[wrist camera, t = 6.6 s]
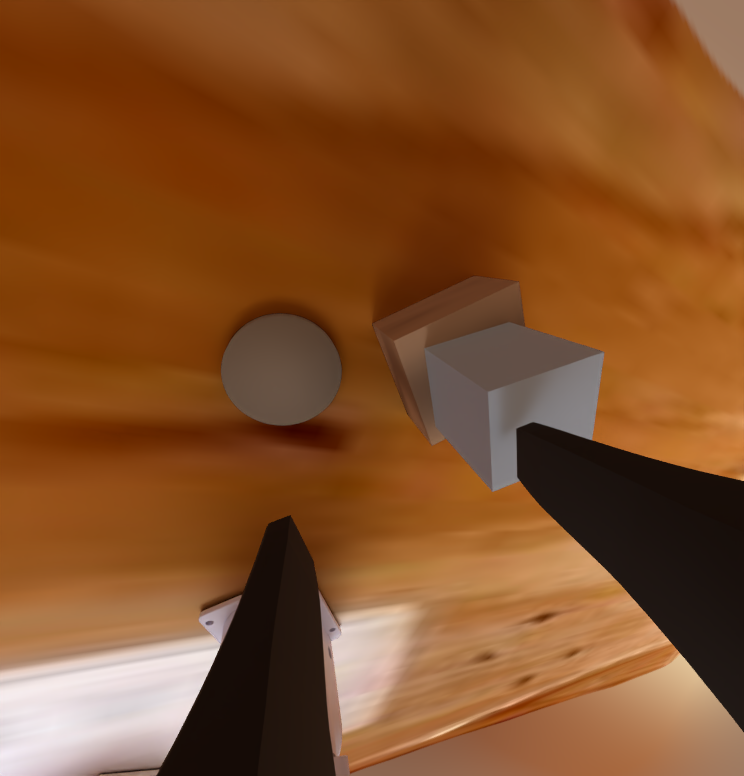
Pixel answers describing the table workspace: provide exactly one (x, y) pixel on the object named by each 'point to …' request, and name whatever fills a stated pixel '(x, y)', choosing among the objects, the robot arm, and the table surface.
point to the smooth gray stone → (281, 369)
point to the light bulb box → (134, 773)
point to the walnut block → (441, 336)
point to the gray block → (509, 393)
